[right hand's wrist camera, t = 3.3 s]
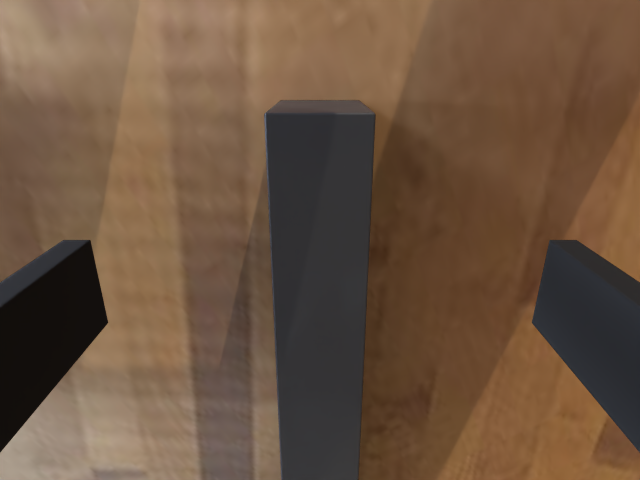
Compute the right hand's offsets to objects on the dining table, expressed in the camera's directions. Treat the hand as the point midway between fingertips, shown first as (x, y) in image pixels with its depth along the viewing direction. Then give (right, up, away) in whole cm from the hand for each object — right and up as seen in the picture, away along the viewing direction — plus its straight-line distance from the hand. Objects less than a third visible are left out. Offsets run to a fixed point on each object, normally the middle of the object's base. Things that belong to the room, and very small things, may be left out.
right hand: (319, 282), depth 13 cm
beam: (0, -7, +21) cm, 22 cm away
